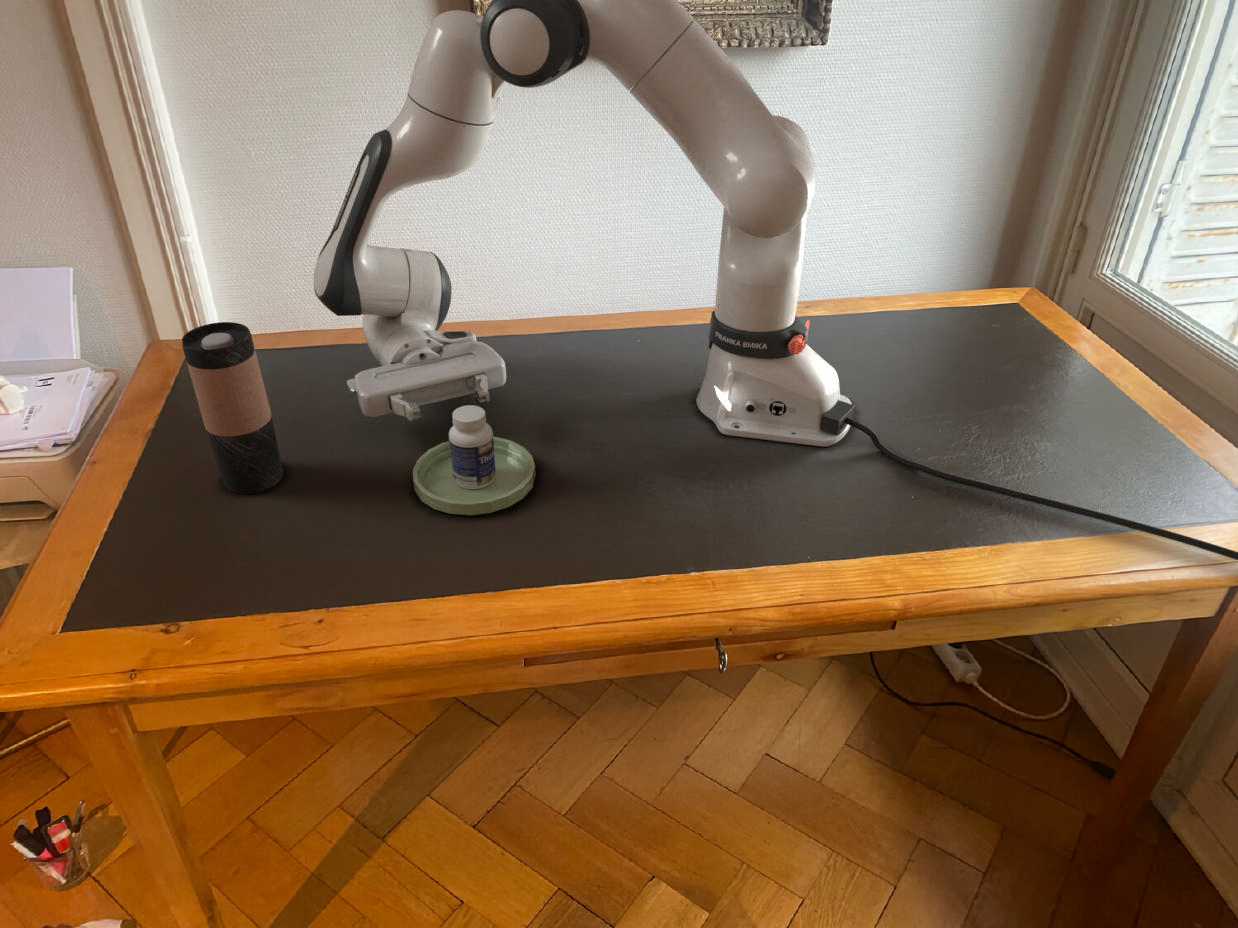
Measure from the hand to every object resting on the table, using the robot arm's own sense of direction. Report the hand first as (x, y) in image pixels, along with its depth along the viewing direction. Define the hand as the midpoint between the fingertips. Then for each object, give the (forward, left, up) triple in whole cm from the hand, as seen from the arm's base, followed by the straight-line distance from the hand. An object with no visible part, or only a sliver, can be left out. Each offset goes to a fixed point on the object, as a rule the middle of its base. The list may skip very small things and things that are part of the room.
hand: (450, 406), depth 115 cm
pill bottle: (-6, +5, -7) cm, 10 cm away
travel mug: (+20, +16, -7) cm, 26 cm away
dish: (-6, +5, -7) cm, 10 cm away
